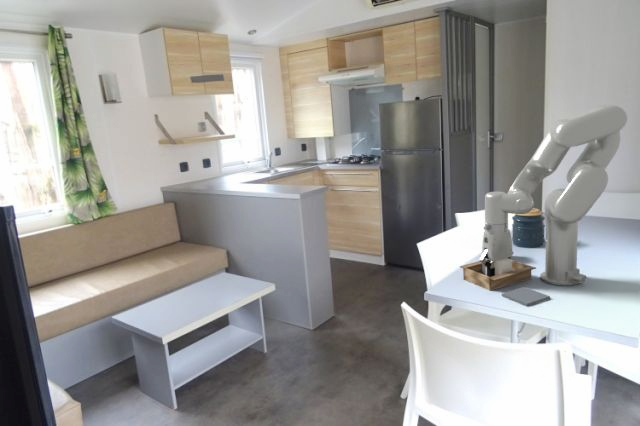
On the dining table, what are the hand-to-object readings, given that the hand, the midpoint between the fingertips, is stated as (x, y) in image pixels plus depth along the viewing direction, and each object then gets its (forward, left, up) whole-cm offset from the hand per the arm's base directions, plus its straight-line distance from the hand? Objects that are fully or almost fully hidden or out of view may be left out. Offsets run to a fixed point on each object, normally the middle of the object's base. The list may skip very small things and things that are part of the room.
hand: (496, 275), depth 162 cm
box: (0, 0, -1) cm, 1 cm away
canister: (+23, -41, -2) cm, 47 cm away
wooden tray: (0, 0, -1) cm, 1 cm away
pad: (-17, +5, -1) cm, 18 cm away
